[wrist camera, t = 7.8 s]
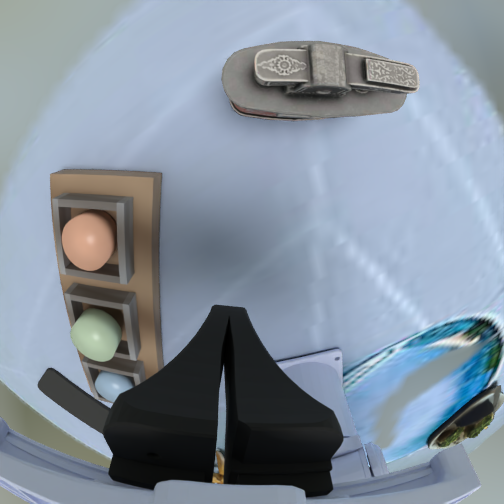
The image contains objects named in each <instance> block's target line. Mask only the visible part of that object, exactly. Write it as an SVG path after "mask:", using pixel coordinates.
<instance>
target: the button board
mask: <svg viewBox="0 0 504 504" xmlns="http://www.w3.org/2000/svg"><path fill="white" fill-rule="evenodd" d="M161 179H162V173H156V172H140V171H119V170H87V169H64V170H61V171H58V172H55V173H52V174H50V189H51V207H52V220H53V231H54V240H55V248H56V255H57V262H58V268H59V274H60V280H61V285H62V290H63V295H64V300H65V304H66V309H67V313H68V317H69V321H70V325H71V329H72V327H73V325H74V324H75V323H76V321H77V320H78V318H79V317H80V315H81V314H82V313H83V312H84V311H85V310H87V309H91V308H95V309H100V310H103V311H105V312H106V313H108V314H109V315H111V316H112V317H113V318H114V319H115V320H116V321H117V323H118V324H119V326H120V328H121V331H122V338H121V341H120V343H119V345H118V347H117V349H116V351H115V353H114V355H113V357H112V358H111V359H110V360H108V361H104V362H100V361H95V360H92V359H90V358H88V357H86V356H85V355H83V354H82V353H81V352H80V351H79V350H78V349H77V351H78V354H79V357H80V360H81V363H82V366H83V369H84V372H85V375H86V378H87V381H88V384H89V387H90V389H91V392H93V395H94V398H95V399H98V400H102V401H105V402H109V403H114V402H111V401H109V400H107V399H105V398H104V397H103V396H101V395H100V394H99V393H98V391H97V390H96V388H95V382H96V379H97V377H98V375H99V373H100V371H101V370H104V371H108V372H112V373H117V374H121V375H126V376H131V377H134V381H135V385H138V384H140V383H142V382H143V381H145V380H146V379H148V378H149V377H151V376H152V375H154V374H155V373H157V372H158V371H160V370H161V369H162V368H163V367H164V365H163V352H162V338H161V319H160V293H159V225H160V198H161ZM88 209H99V210H102V211H104V212H105V213H107V214H108V215H109V216H110V217H111V218H112V219H113V220H114V222H115V223H116V225H117V243H118V248H117V250H116V251H115V253H114V254H113V255H112V256H111V257H110V258H109V259H108V261H107V262H106V263H105V264H104V265H103V266H102V267H101V268H99V269H97V270H94V271H87V270H83V269H81V268H79V267H77V266H75V265H74V264H73V263H72V262H71V261H70V260H69V258H68V257H67V255H66V254H65V251H64V249H63V245H62V232H63V229H64V227H65V225H66V224H67V223H68V222H69V221H70V220H71V219H73V218H74V217H76V216H78V215H79V214H81V213H82V212H84V211H86V210H88Z"/></svg>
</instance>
